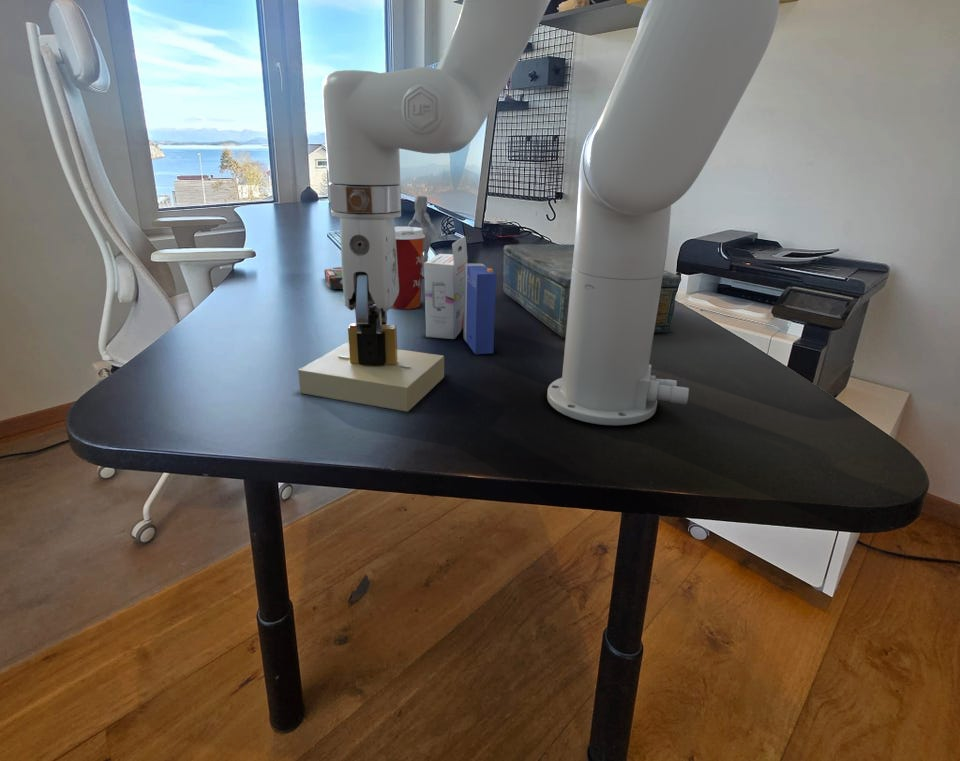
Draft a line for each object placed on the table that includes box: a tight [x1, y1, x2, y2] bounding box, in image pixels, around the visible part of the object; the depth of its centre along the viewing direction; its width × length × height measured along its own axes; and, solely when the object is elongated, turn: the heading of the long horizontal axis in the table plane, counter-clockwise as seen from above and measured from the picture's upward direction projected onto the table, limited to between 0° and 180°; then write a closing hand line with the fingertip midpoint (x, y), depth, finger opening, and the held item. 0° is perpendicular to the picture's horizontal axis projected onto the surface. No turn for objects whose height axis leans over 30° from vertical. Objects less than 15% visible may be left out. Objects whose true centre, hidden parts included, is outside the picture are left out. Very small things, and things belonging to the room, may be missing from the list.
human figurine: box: [407, 194, 443, 279], centre depth 122 cm, size 12×4×18 cm, turn 49°
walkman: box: [462, 262, 497, 355], centre depth 80 cm, size 8×3×12 cm, turn 14°
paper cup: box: [391, 226, 425, 310], centre depth 100 cm, size 8×8×14 cm
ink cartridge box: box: [423, 235, 468, 340], centre depth 86 cm, size 9×5×15 cm, turn 168°
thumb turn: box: [347, 322, 398, 365], centre depth 65 cm, size 6×2×5 cm, turn 90°
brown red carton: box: [323, 266, 343, 290], centre depth 118 cm, size 7×3×15 cm
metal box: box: [502, 243, 682, 339], centre depth 100 cm, size 21×32×10 cm, turn 15°
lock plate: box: [297, 341, 445, 413], centre depth 67 cm, size 14×11×3 cm
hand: (374, 359), depth 66 cm, fingers closed on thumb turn
